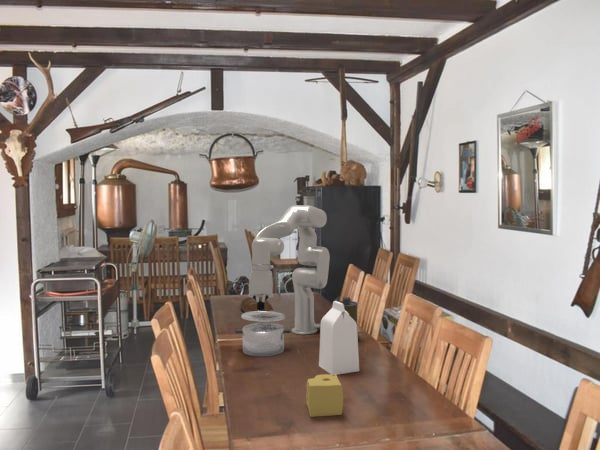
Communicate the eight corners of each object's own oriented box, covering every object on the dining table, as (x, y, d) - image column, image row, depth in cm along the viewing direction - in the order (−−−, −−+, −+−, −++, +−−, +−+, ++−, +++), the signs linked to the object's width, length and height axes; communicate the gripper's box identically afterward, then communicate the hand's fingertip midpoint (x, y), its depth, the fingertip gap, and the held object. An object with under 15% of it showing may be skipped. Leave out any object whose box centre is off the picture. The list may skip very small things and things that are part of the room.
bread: (261, 305, 330) (261, 291, 329) (278, 318, 295) (278, 303, 295) (236, 307, 325) (236, 293, 324) (250, 321, 290) (250, 305, 290)
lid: (286, 321, 244) (286, 315, 246) (283, 313, 226) (283, 306, 227) (244, 321, 245) (245, 315, 246) (238, 313, 227) (238, 306, 228)
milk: (318, 365, 214) (318, 301, 212) (344, 362, 218) (344, 298, 217) (332, 375, 203) (331, 307, 201) (359, 370, 207) (358, 304, 206)
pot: (292, 344, 244) (291, 322, 243) (289, 356, 226) (289, 333, 226) (239, 344, 245) (238, 322, 244) (233, 356, 227) (232, 333, 226)
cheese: (305, 404, 176) (305, 374, 175) (338, 403, 176) (338, 373, 176) (309, 418, 165) (308, 386, 164) (343, 416, 166) (343, 384, 165)
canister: (356, 343, 244) (356, 300, 242) (333, 342, 246) (333, 299, 245) (358, 337, 254) (358, 295, 253) (337, 336, 256) (336, 294, 255)
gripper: (279, 267, 233) (278, 309, 233) (244, 267, 233) (244, 309, 234) (277, 269, 225) (277, 312, 226) (242, 268, 226) (242, 312, 226)
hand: (260, 310), depth 230 cm, fingers closed
